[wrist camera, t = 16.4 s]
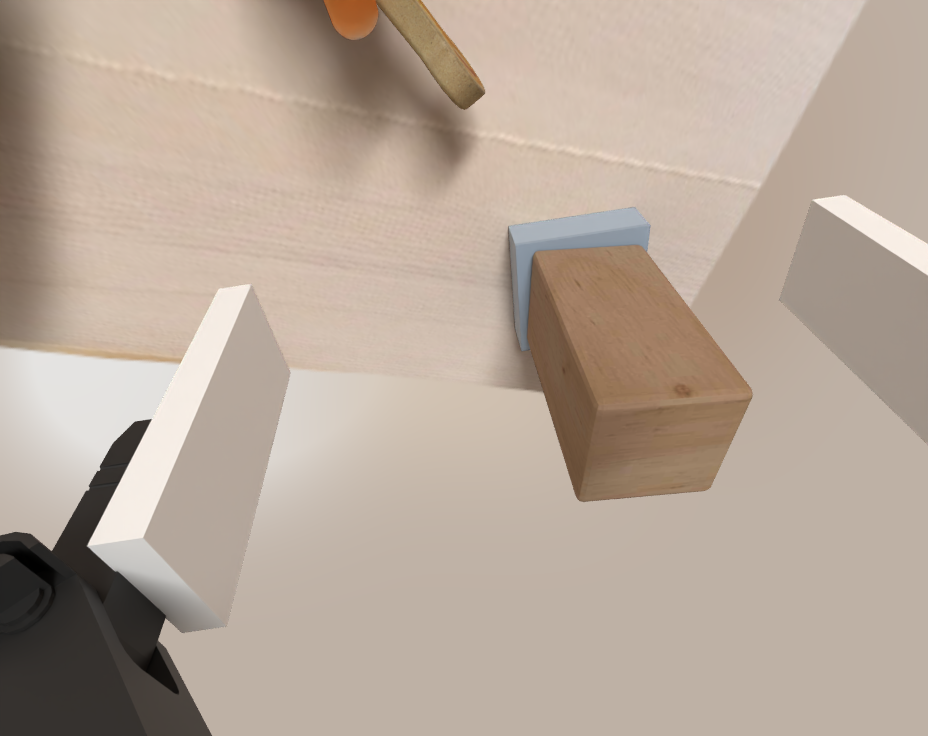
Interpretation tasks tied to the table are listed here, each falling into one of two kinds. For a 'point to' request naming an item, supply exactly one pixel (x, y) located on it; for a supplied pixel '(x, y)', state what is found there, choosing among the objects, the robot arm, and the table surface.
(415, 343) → the table surface
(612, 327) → the wooden block
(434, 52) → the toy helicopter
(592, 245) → the base brick
